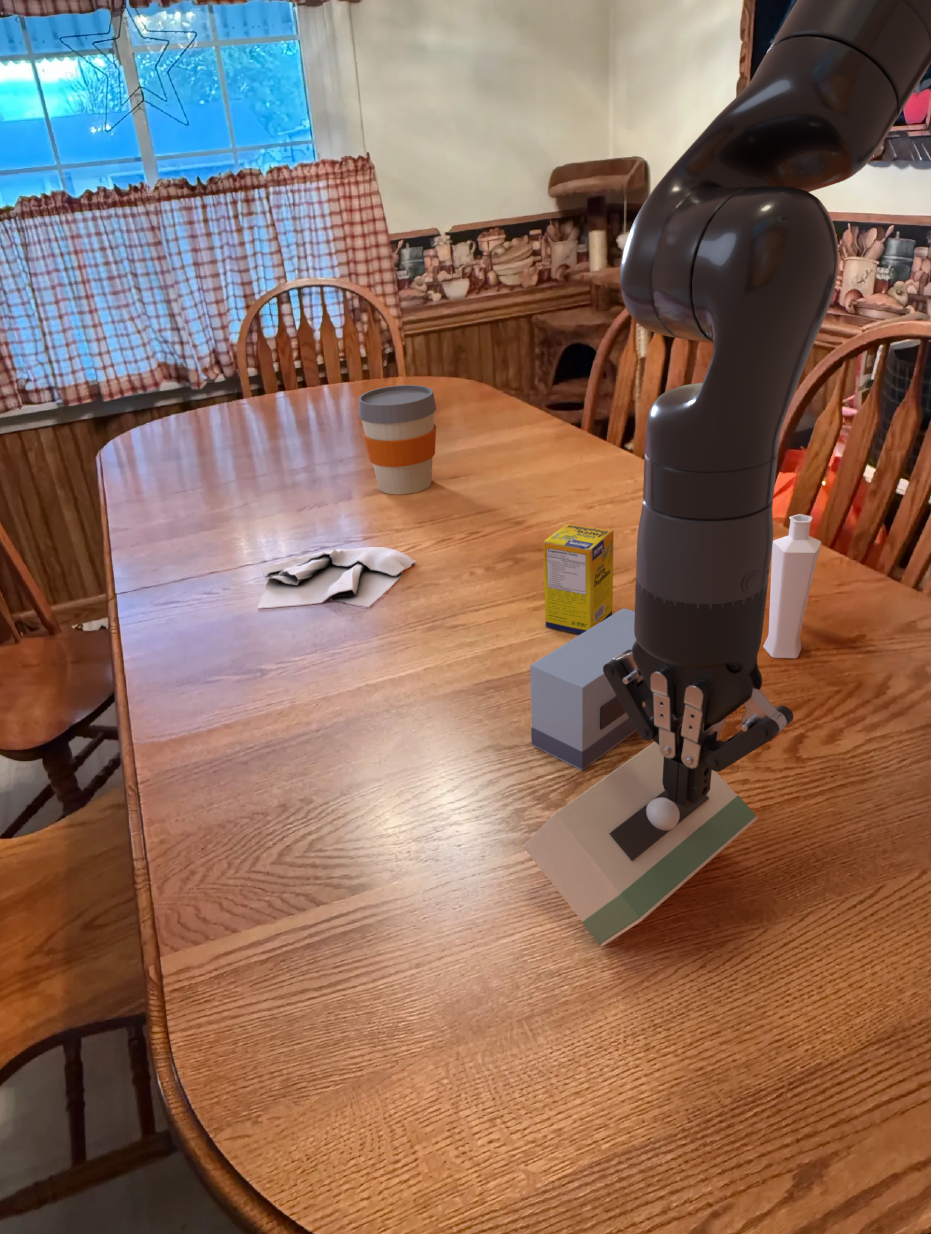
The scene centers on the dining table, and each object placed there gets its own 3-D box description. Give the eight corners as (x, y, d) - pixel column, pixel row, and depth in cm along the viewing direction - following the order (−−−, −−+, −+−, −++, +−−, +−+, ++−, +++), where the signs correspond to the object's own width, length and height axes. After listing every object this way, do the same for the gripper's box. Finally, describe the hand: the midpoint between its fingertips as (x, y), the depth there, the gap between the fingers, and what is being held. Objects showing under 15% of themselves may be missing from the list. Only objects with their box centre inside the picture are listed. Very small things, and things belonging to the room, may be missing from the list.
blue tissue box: (621, 684, 93) (624, 607, 88) (684, 710, 88) (690, 630, 83) (531, 745, 85) (528, 665, 81) (595, 778, 80) (596, 694, 76)
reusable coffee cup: (416, 502, 143) (407, 408, 136) (353, 493, 149) (341, 402, 142) (455, 476, 152) (449, 386, 144) (394, 469, 158) (384, 382, 150)
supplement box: (613, 615, 106) (615, 529, 100) (591, 638, 102) (592, 549, 96) (567, 606, 109) (566, 521, 103) (544, 627, 105) (542, 540, 99)
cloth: (435, 559, 124) (434, 543, 122) (338, 629, 109) (335, 612, 107) (321, 538, 134) (319, 522, 133) (218, 599, 119) (214, 582, 118)
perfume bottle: (751, 651, 96) (766, 520, 88) (773, 636, 98) (790, 506, 91) (791, 666, 93) (810, 531, 85) (812, 649, 95) (834, 517, 88)
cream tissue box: (714, 848, 72) (639, 761, 74) (770, 809, 65) (686, 716, 68) (601, 947, 64) (521, 847, 67) (652, 914, 58) (562, 805, 61)
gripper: (842, 576, 51) (803, 812, 60) (644, 525, 59) (637, 738, 68) (773, 627, 46) (743, 873, 55) (572, 565, 55) (574, 786, 64)
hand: (684, 798), depth 62 cm, fingers closed
